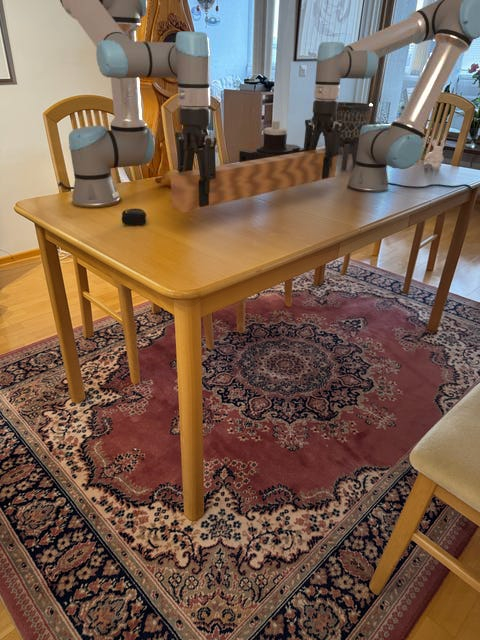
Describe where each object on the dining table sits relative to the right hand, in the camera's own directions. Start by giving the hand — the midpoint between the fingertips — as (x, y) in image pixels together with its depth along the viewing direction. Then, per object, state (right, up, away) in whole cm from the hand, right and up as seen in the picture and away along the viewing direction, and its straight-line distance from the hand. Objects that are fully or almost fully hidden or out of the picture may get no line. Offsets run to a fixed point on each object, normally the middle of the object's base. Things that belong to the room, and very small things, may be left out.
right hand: (318, 176), depth 153 cm
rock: (+31, +40, +89) cm, 102 cm away
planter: (+21, +22, +58) cm, 65 cm away
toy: (-52, +3, +22) cm, 56 cm away
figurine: (+62, +21, +57) cm, 88 cm away
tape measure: (-57, -21, -19) cm, 64 cm away
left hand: (-38, -17, -32) cm, 53 cm away
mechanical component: (-9, +15, +43) cm, 47 cm away
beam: (-19, -9, -16) cm, 26 cm away
